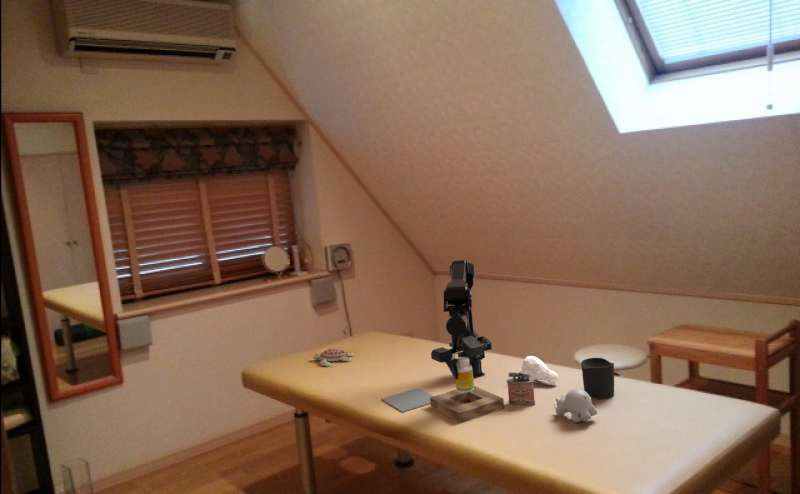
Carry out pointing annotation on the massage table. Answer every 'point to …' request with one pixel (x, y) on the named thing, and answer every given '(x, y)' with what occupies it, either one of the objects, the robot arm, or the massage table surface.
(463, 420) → the pocket block
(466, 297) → the robot arm
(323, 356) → the decorative turtle
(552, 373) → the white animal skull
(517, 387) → the lighter
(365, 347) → the massage table surface
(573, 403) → the round bodied animal figurine
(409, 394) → the mat
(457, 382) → the supplement bottle
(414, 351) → the massage table surface
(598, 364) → the pen holder
